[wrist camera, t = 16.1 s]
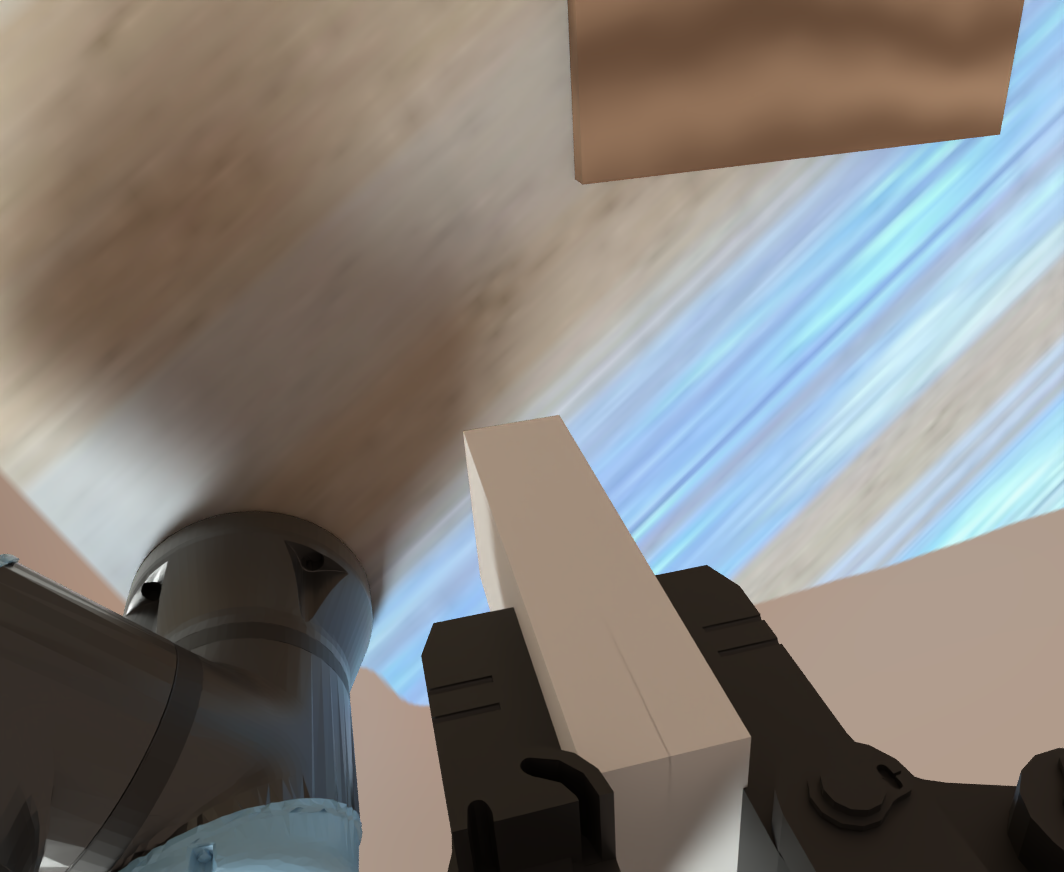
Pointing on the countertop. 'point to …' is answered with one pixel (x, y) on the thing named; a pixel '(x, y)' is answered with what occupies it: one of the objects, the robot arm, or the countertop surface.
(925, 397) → the countertop surface
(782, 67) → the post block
